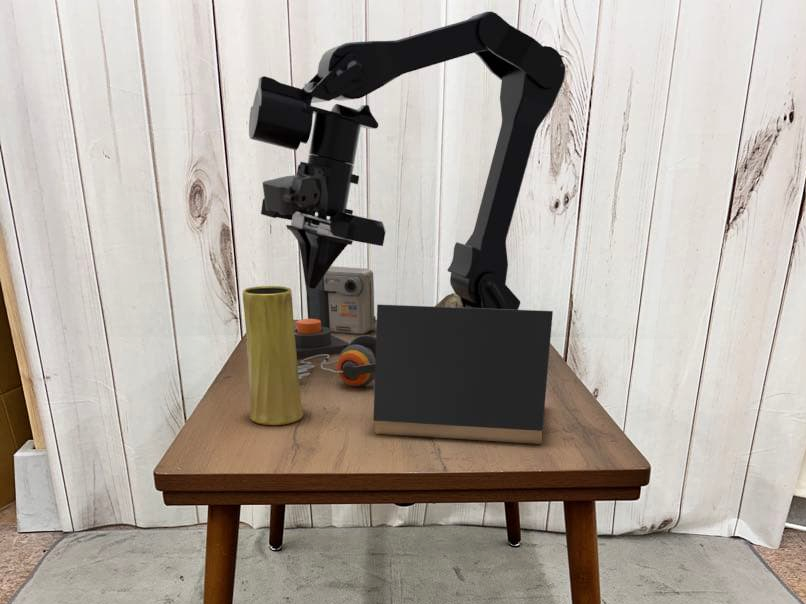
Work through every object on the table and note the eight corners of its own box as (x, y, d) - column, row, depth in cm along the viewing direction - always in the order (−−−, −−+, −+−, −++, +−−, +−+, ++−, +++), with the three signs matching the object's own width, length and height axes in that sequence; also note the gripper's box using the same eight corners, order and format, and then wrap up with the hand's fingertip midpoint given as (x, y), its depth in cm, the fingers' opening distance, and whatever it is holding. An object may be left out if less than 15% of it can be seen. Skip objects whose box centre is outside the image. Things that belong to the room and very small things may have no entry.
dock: (329, 341, 123) (328, 322, 122) (351, 352, 117) (350, 332, 116) (269, 348, 119) (267, 328, 117) (289, 360, 113) (288, 339, 111)
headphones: (295, 341, 112) (430, 313, 107) (305, 376, 114) (437, 351, 109) (255, 373, 97) (409, 343, 92) (268, 413, 99) (419, 386, 94)
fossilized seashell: (492, 318, 127) (460, 317, 136) (473, 283, 124) (441, 284, 132) (460, 347, 126) (429, 344, 134) (440, 312, 122) (409, 312, 131)
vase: (252, 409, 93) (241, 285, 86) (304, 408, 93) (296, 284, 87) (247, 426, 87) (235, 295, 81) (302, 425, 88) (294, 294, 81)
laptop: (395, 401, 96) (395, 387, 95) (543, 409, 93) (544, 395, 92) (375, 433, 85) (375, 418, 85) (541, 444, 83) (542, 429, 82)
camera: (302, 330, 130) (299, 267, 125) (319, 324, 134) (316, 263, 130) (364, 337, 126) (363, 272, 121) (379, 329, 131) (378, 267, 126)
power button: (315, 329, 119) (314, 317, 118) (325, 334, 116) (324, 322, 115) (293, 332, 117) (292, 320, 117) (302, 336, 115) (302, 324, 114)
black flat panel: (378, 304, 82) (377, 304, 81) (552, 311, 79) (552, 311, 78) (375, 419, 85) (373, 420, 84) (542, 430, 82) (542, 431, 81)
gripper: (235, 136, 97) (219, 266, 103) (330, 155, 86) (306, 299, 92) (304, 156, 105) (286, 275, 111) (400, 175, 94) (374, 306, 100)
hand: (310, 287), depth 103 cm, fingers closed
